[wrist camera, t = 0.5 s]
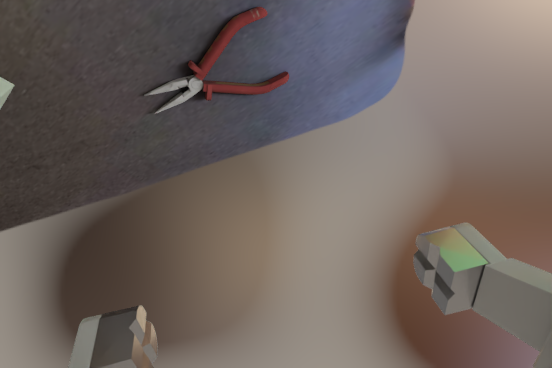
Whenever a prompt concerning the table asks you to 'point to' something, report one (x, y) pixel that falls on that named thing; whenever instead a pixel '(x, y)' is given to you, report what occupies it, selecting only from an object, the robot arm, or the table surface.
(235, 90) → the pliers
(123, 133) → the table surface
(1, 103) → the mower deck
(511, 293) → the robot arm
